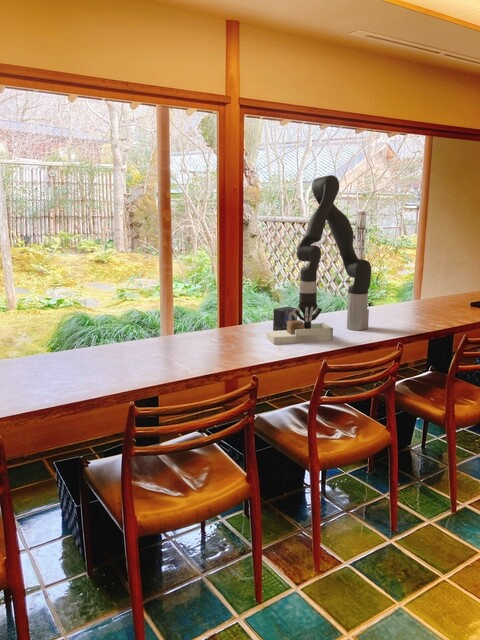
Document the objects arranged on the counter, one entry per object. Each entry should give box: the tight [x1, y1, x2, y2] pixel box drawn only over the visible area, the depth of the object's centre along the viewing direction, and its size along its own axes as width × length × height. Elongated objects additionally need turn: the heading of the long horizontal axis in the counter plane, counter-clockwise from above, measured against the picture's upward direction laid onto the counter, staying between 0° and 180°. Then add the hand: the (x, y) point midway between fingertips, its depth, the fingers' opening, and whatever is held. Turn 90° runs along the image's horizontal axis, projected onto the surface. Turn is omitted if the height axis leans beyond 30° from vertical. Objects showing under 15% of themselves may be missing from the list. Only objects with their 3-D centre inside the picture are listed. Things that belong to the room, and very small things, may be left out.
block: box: [287, 319, 304, 334], centre depth 237 cm, size 6×5×5 cm
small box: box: [272, 305, 298, 331], centre depth 255 cm, size 11×6×10 cm, turn 129°
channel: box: [265, 322, 334, 345], centre depth 238 cm, size 27×11×6 cm, turn 103°
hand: (307, 329), depth 238 cm, fingers closed
